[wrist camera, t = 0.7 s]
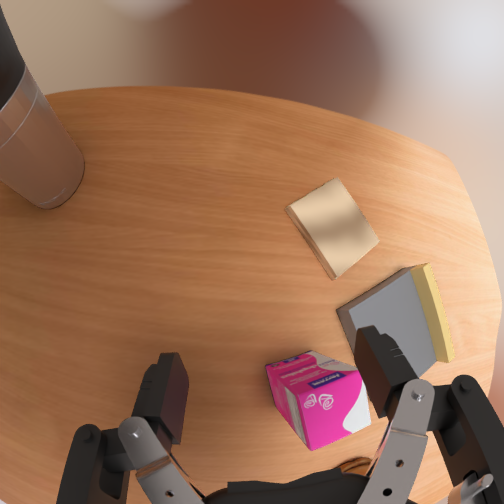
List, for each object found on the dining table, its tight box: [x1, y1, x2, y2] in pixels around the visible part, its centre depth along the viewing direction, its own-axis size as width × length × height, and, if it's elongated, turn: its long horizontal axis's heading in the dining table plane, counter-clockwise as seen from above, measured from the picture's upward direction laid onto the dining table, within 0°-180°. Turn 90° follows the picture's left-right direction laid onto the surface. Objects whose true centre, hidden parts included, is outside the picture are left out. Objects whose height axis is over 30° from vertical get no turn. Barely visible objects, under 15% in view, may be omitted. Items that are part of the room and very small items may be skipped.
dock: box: [336, 263, 455, 402], centre depth 29 cm, size 14×12×6 cm
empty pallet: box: [285, 177, 380, 280], centre depth 32 cm, size 10×8×2 cm
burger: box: [338, 458, 372, 476], centre depth 25 cm, size 10×9×5 cm
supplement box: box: [265, 351, 371, 451], centre depth 23 cm, size 6×6×12 cm
